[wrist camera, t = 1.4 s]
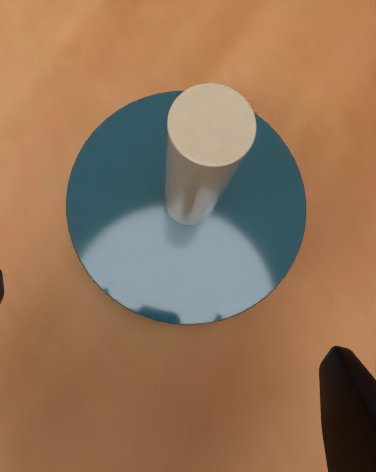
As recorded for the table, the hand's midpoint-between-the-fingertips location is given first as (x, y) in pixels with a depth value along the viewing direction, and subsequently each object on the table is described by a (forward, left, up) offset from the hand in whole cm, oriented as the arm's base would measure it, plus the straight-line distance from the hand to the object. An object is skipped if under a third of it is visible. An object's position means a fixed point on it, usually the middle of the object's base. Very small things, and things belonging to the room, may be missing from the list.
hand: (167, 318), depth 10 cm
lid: (+6, +2, -10) cm, 12 cm away
